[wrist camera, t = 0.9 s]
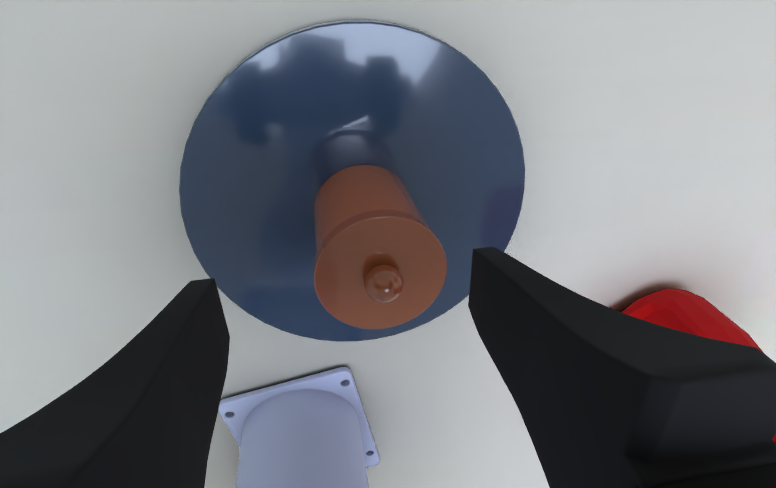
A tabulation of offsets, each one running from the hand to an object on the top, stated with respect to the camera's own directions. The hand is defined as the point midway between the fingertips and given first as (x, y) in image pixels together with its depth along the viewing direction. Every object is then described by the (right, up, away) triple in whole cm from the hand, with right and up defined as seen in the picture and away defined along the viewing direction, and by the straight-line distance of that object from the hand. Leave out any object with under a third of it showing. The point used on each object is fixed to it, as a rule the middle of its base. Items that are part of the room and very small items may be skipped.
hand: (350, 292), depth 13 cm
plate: (0, +3, +9) cm, 10 cm away
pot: (0, +3, +9) cm, 9 cm away
